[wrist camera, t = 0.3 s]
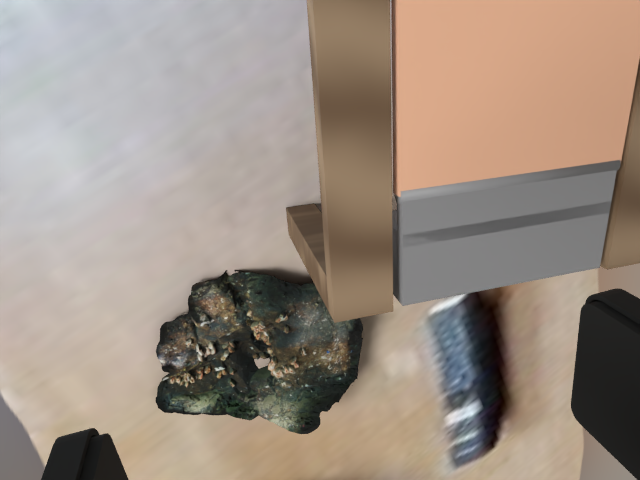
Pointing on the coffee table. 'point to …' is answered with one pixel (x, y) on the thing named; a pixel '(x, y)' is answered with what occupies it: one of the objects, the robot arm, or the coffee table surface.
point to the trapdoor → (505, 138)
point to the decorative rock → (257, 352)
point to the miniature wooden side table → (389, 165)
